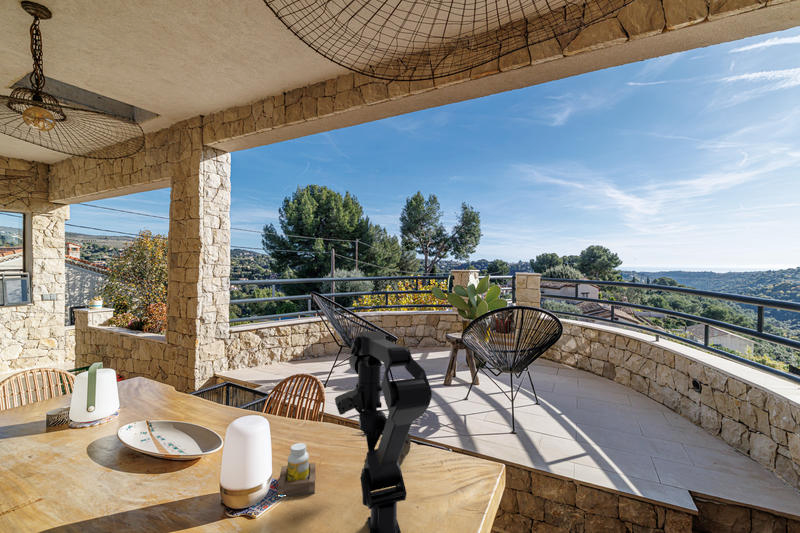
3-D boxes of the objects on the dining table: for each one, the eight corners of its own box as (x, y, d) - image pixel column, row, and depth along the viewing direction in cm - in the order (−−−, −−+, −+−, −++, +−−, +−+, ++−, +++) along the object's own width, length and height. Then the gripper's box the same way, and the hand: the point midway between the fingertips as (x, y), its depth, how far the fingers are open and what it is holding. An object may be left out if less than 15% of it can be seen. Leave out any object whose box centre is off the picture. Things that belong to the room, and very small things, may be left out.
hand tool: (397, 477, 95) (397, 460, 96) (383, 474, 97) (384, 457, 97) (417, 447, 113) (417, 432, 113) (405, 444, 114) (406, 430, 115)
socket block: (314, 493, 87) (314, 481, 87) (277, 497, 85) (277, 485, 86) (315, 473, 96) (315, 462, 96) (281, 477, 94) (281, 466, 94)
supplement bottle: (312, 484, 90) (312, 447, 91) (292, 492, 87) (293, 453, 87) (302, 475, 94) (303, 439, 95) (283, 482, 91) (284, 445, 91)
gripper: (335, 372, 95) (334, 429, 95) (339, 394, 77) (337, 465, 76) (375, 370, 98) (374, 426, 97) (388, 391, 80) (386, 460, 79)
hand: (368, 443), depth 87 cm, fingers open, 9 cm apart
